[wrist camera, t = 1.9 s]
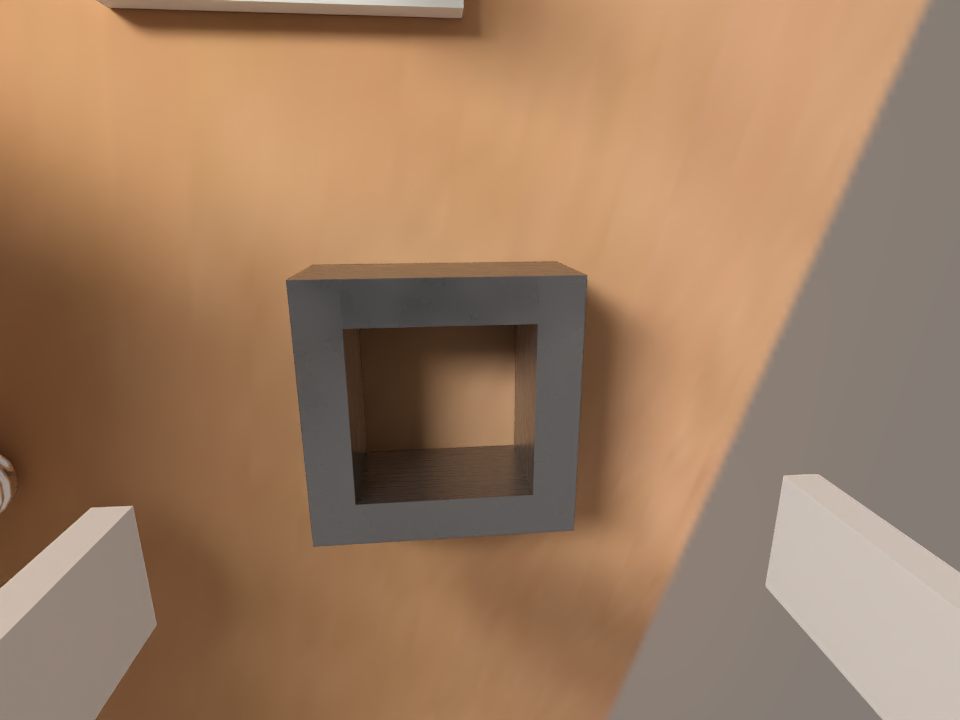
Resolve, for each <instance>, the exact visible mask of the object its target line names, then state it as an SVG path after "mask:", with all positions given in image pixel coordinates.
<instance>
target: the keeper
mask: <svg viewBox="0 0 960 720" xmlns="http://www.w3.org/2000/svg"><path fill="white" fill-rule="evenodd" d="M97 1H98V2H100V3H102V4H103V5H105V6H106V7H108V8H135V9H169V10H202V11H235V12H269V13H302V14H335V15H368V16H402V17H435V18H462V14H463V9H464V0H97Z"/></svg>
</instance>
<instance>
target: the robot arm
mask: <svg viewBox="0 0 960 720" xmlns="http://www.w3.org/2000/svg"><path fill="white" fill-rule="evenodd" d="M766 587H767V589H768V590H769V591H770V592H771V593H772V594H773V595H774V596H775V598H776V599H777V600H778V601H779V602H780V603H781V604H782V606H783V607H784V608H785V609H786V610H787V611H788V612H789V614H790V615H791V616H792V617H793V618H794V619H795V620H796V622H797V623H798V624H799V625H800V626H801V627H802V628H803V629H804V631H806V633H807V634H808V635H809V636H810V638H811V639H812V640H813V641H814V642H815V643H816V644H817V645H818V647H819V648H820V649H821V650H822V651H823V652H824V653H825V655H826V656H827V657H828V658H829V659H830V660H831V661H832V663H833V664H834V665H835V666H836V667H837V668H838V669H839V671H840V672H841V673H842V674H843V675H844V676H845V677H846V679H847V680H848V681H849V682H850V683H851V684H852V685H853V686H854V688H855V689H856V690H857V691H858V692H859V693H860V695H861V696H862V697H863V698H864V699H865V700H866V701H867V702H868V703H869V705H870V706H871V707H872V708H873V709H874V710H875V712H876V713H877V714H878V715H879V716H880V717H881V718H882V720H960V572H958V571H957V570H955V569H954V568H952V567H951V566H949V565H948V564H947V563H945V562H944V561H942V560H941V559H939V558H938V557H937V556H935V555H934V554H932V553H931V552H929V551H928V550H927V549H925V548H924V547H922V546H921V545H919V544H918V543H916V542H915V541H913V540H912V539H911V538H909V537H908V536H906V535H905V534H903V533H902V532H901V531H899V530H898V529H896V528H895V527H893V526H892V525H890V524H889V523H888V522H886V521H885V520H883V519H882V518H880V517H879V516H878V515H876V514H875V513H873V512H872V511H870V510H869V509H868V508H866V507H865V506H863V505H862V504H860V503H859V502H857V501H856V500H855V499H853V498H852V497H850V496H849V495H847V494H846V493H845V492H843V491H842V490H840V489H839V488H837V487H836V486H834V485H833V484H832V483H830V482H829V481H827V480H826V479H824V478H823V477H822V476H820V475H819V474H807V475H786V476H784V477H783V483H782V489H781V495H780V501H779V507H778V513H777V519H776V525H775V531H774V537H773V544H772V549H771V555H770V561H769V567H768V573H767V579H766ZM156 626H157V622H156V617H155V612H154V607H153V602H152V597H151V592H150V587H149V582H148V577H147V572H146V567H145V562H144V557H143V552H142V547H141V542H140V537H139V532H138V527H137V522H136V517H135V513H134V508H133V506H117V507H95V508H90V509H89V510H88V511H87V512H86V513H84V514H83V515H82V516H81V517H80V518H79V519H78V520H77V521H75V522H74V523H73V524H72V525H71V526H70V527H69V528H68V529H66V530H65V531H64V532H63V533H62V534H61V535H60V536H59V537H57V538H56V539H55V540H54V541H53V542H52V543H51V544H50V545H49V546H47V547H46V548H45V549H44V550H43V551H42V552H41V553H40V554H38V555H37V556H36V557H35V558H34V559H33V560H32V561H31V562H29V563H28V564H27V565H26V566H25V567H24V568H23V569H22V570H20V571H19V572H18V573H17V574H16V575H15V576H14V577H13V578H11V579H10V580H9V581H8V582H7V583H6V584H5V585H4V586H2V587H1V588H0V720H95V719H96V717H97V716H98V714H99V713H100V711H101V710H102V708H103V707H104V705H105V704H106V702H107V701H108V699H109V698H110V696H111V694H112V693H113V691H114V690H115V688H116V687H117V685H118V684H119V682H120V681H121V679H122V678H123V676H124V675H125V673H126V672H127V670H128V668H129V667H130V665H131V664H132V662H133V661H134V659H135V658H136V656H137V655H138V653H139V652H140V650H141V649H142V647H143V645H144V644H145V642H146V641H147V639H148V638H149V636H150V635H151V633H152V632H153V630H154V629H155V627H156Z"/></svg>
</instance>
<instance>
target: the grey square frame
mask: <svg viewBox="0 0 960 720" xmlns="http://www.w3.org/2000/svg"><path fill="white" fill-rule="evenodd" d="M286 284H287V294H288V304H289V314H290V323H291V333H292V343H293V353H294V362H295V372H296V382H297V392H298V402H299V411H300V421H301V431H302V441H303V451H304V460H305V470H306V480H307V490H308V499H309V509H310V519H311V529H312V539H313V547H316V546H332V545H348V544H364V543H380V542H396V541H412V540H428V539H444V538H460V537H476V536H492V535H508V534H524V533H540V532H556V531H572V530H574V517H575V498H576V479H577V460H578V441H579V422H580V403H581V383H582V364H583V345H584V326H585V307H586V288H587V275H586V274H583V273H581V272H579V271H577V270H574V269H572V268H570V267H568V266H565V265H563V264H561V263H559V262H486V263H413V264H339V265H311V266H310V267H308V268H306V269H304V270H303V271H301V272H299V273H297V274H296V275H294V276H292V277H290V278H289V279H287V280H286ZM480 325H516V371H515V432H514V445H508V446H486V447H465V448H443V449H422V450H400V451H379V452H367V442H366V427H365V412H364V397H363V382H362V367H361V352H360V337H359V328H400V327H440V326H480Z"/></svg>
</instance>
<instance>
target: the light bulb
mask: <svg viewBox="0 0 960 720" xmlns="http://www.w3.org/2000/svg"><path fill="white" fill-rule="evenodd" d="M17 488H18V485H17V475H16V472H15V470H14V468H13V466H12V463H11V462H10V461H9V460H8V459H7V458H5V457H4V456H3V455H1V454H0V513H2V512H3V511H4V510H5V509H7V508H8V505H9V503H10V501H11V500H12V499H13V497H14V495H15V493H16V490H17Z"/></svg>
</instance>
